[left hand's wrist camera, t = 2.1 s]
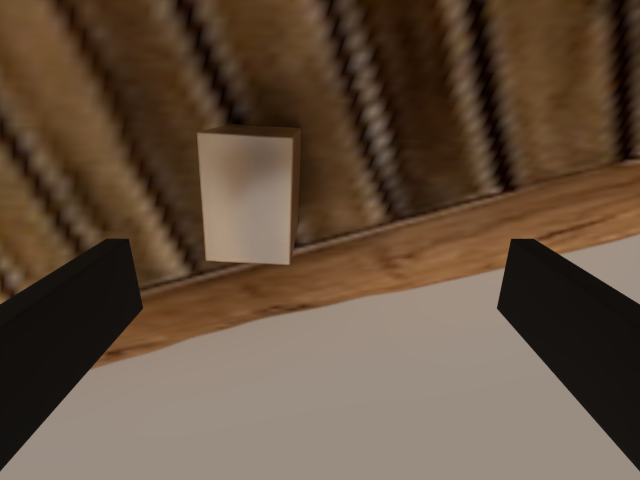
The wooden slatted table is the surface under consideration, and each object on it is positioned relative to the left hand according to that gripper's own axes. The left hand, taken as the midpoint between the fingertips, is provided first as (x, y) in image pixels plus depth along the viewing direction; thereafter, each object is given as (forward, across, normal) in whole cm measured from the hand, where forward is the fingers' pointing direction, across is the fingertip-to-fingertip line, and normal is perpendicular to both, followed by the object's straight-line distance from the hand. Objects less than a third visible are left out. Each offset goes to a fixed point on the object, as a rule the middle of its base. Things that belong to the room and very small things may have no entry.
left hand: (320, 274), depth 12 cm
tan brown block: (+15, -4, +1) cm, 15 cm away
